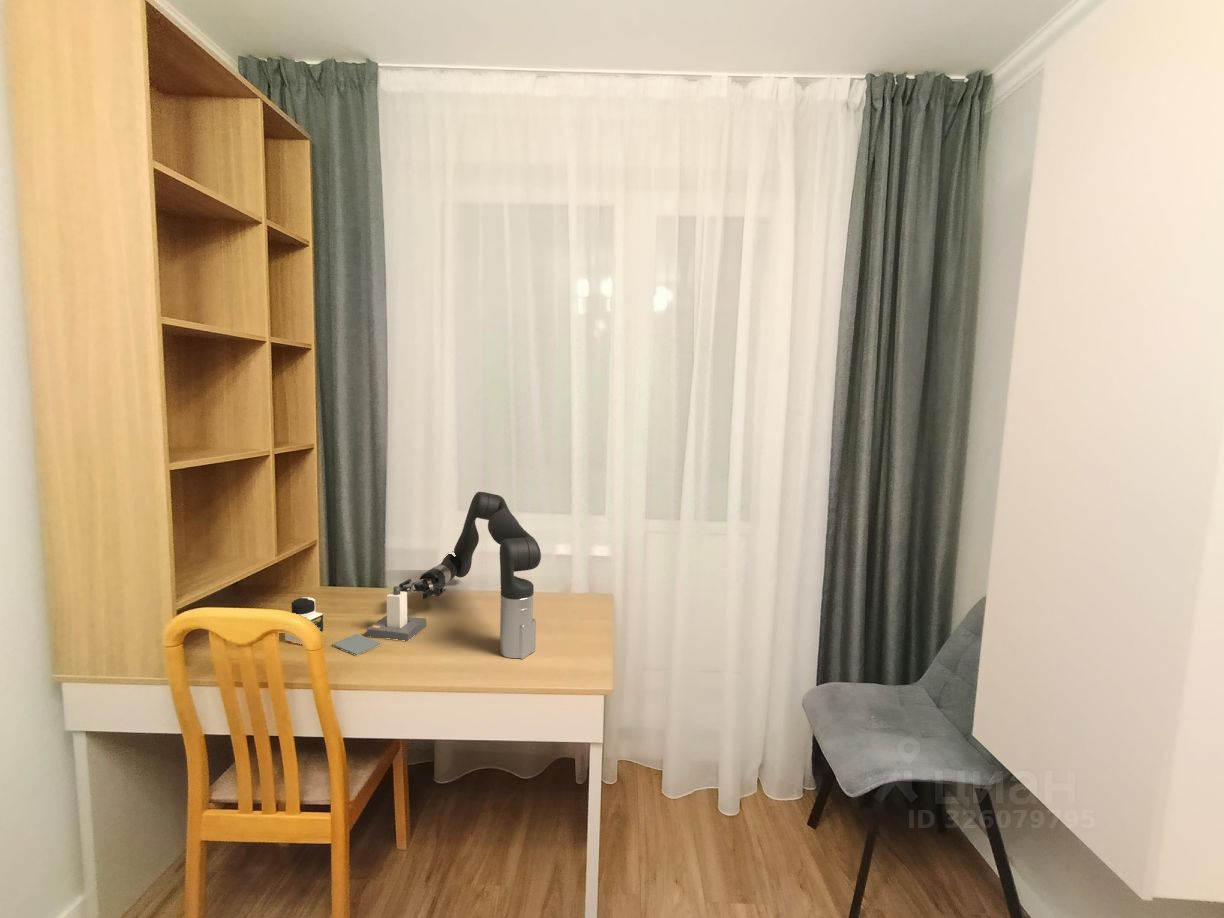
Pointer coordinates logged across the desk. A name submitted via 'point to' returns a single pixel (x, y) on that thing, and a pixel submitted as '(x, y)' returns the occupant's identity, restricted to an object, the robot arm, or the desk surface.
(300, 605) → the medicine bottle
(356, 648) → the mat
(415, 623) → the socket block
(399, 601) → the plug
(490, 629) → the desk surface
